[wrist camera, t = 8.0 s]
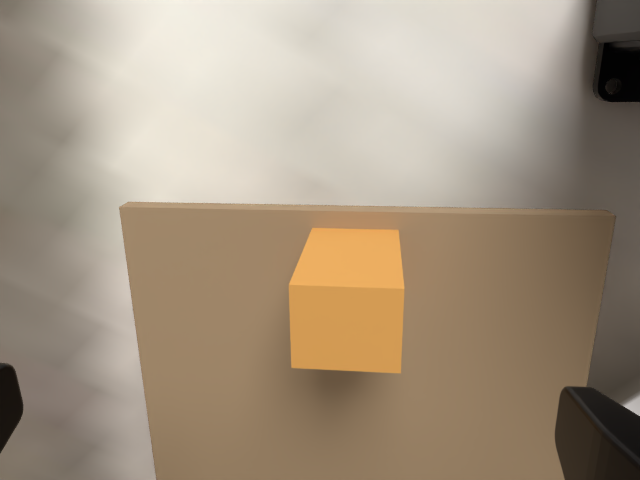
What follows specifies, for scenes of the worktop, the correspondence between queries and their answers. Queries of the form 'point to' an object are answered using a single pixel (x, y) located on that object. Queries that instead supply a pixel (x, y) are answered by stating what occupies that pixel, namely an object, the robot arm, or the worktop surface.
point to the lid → (361, 337)
